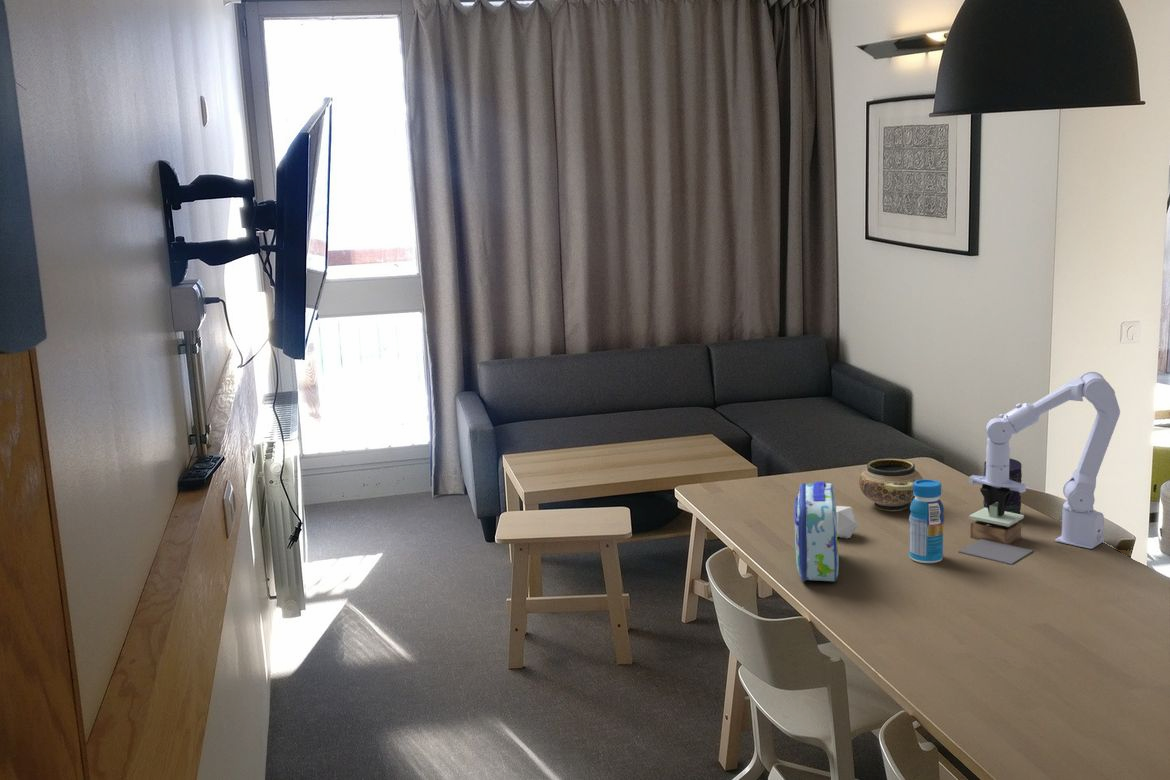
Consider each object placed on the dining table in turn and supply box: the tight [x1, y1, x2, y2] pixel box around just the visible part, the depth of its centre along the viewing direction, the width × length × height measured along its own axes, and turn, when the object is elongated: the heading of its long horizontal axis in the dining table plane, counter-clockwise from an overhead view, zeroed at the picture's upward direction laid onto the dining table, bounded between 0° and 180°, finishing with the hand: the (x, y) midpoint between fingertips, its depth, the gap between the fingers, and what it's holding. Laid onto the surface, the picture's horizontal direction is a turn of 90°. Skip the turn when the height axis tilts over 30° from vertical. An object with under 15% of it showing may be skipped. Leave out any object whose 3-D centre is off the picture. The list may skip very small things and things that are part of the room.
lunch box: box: [794, 480, 840, 582], centre depth 268 cm, size 26×11×21 cm, turn 168°
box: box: [970, 520, 1022, 545], centre depth 285 cm, size 10×8×4 cm
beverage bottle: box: [908, 478, 945, 564], centre depth 271 cm, size 8×8×20 cm
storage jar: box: [982, 458, 1023, 514], centre depth 300 cm, size 10×10×15 cm
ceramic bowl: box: [858, 458, 924, 512], centre depth 313 cm, size 24×18×15 cm
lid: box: [968, 502, 1025, 527], centre depth 284 cm, size 11×9×4 cm
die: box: [836, 505, 859, 539], centre depth 292 cm, size 8×9×10 cm
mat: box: [958, 539, 1034, 566], centre depth 275 cm, size 14×12×1 cm
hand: (996, 513), depth 284 cm, fingers closed on lid, 2 cm apart
